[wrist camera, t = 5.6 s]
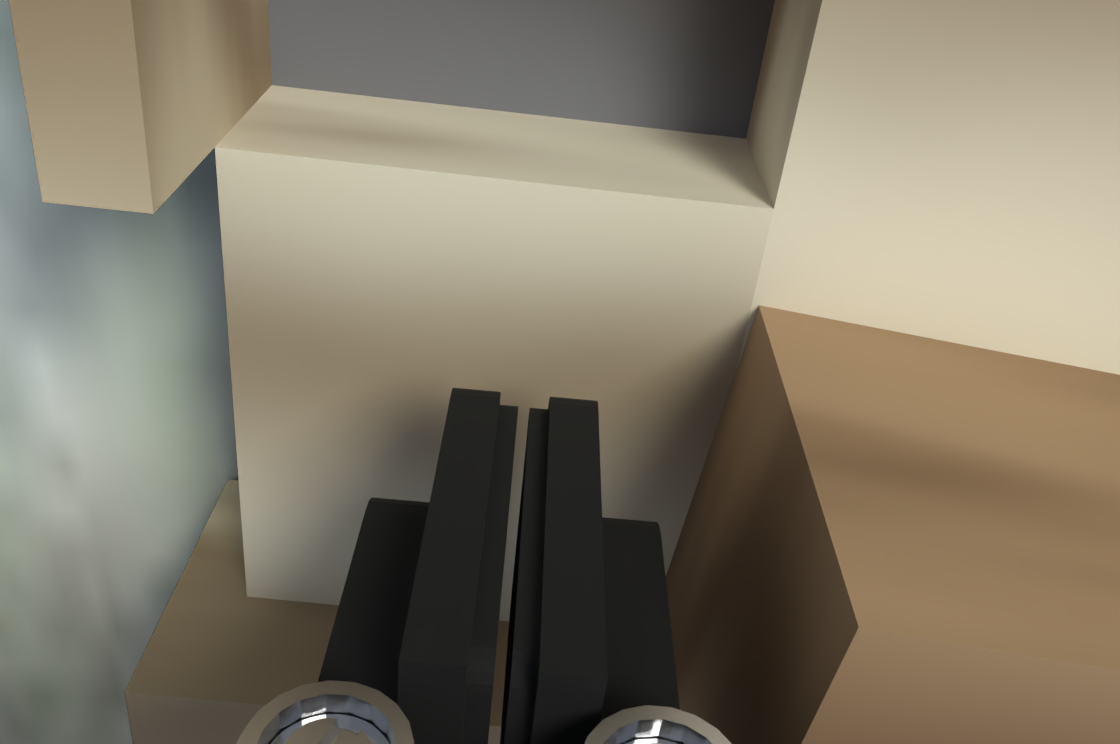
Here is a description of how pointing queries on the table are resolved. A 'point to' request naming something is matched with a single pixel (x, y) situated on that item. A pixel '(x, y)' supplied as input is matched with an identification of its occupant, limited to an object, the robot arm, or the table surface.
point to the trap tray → (558, 240)
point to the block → (902, 545)
